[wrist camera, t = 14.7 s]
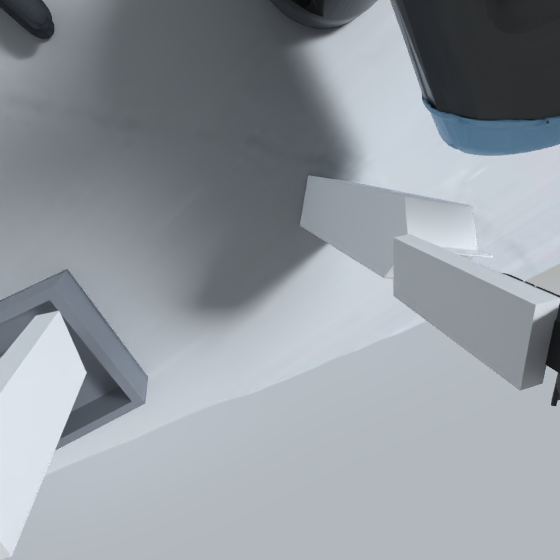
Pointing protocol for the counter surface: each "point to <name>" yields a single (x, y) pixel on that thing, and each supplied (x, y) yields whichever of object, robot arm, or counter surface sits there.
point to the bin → (80, 352)
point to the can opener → (30, 16)
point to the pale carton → (383, 221)
